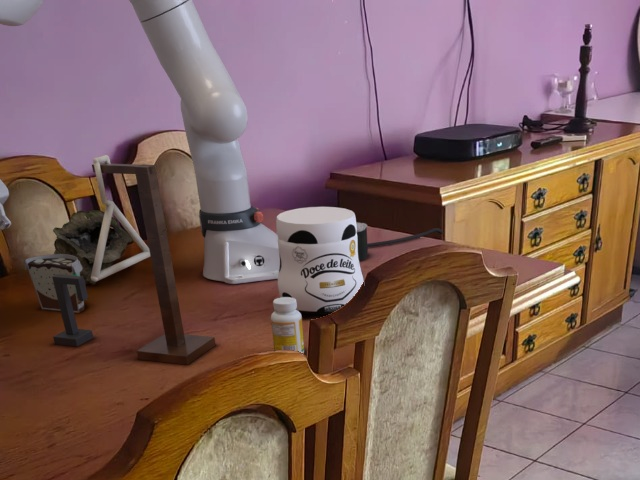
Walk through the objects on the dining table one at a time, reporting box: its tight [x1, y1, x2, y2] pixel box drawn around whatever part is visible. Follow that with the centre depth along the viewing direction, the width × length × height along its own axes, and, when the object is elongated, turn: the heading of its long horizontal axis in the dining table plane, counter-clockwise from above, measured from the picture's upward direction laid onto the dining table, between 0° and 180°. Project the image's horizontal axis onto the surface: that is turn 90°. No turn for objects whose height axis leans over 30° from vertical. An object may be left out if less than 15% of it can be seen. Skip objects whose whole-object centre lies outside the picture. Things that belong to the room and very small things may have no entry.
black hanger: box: [52, 274, 94, 348], centre depth 154 cm, size 7×5×12 cm
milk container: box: [275, 206, 365, 316], centre depth 166 cm, size 17×17×18 cm
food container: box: [24, 253, 85, 314], centre depth 172 cm, size 12×6×10 cm, turn 71°
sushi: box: [356, 221, 369, 262], centre depth 201 cm, size 8×8×8 cm
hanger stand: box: [91, 154, 217, 366], centre depth 143 cm, size 14×17×32 cm
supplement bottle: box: [270, 297, 305, 354], centre depth 147 cm, size 5×5×10 cm
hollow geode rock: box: [52, 209, 134, 286], centre depth 193 cm, size 28×13×15 cm
